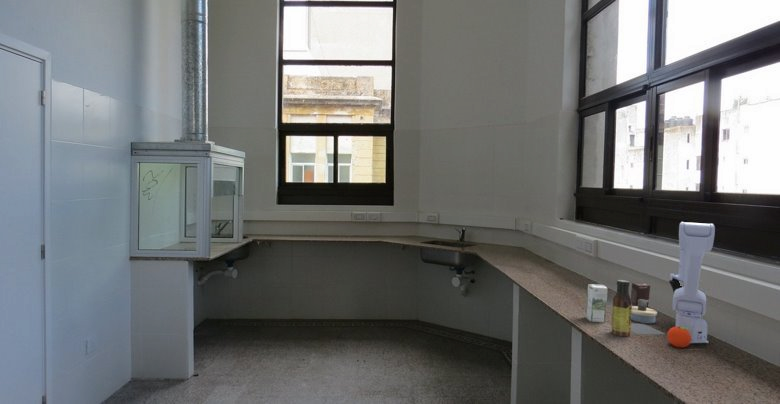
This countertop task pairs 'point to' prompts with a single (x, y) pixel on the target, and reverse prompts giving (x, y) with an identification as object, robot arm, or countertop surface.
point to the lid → (643, 309)
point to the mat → (644, 329)
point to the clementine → (679, 336)
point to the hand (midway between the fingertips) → (685, 301)
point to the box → (639, 293)
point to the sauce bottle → (622, 310)
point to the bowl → (643, 318)
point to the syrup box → (596, 303)
